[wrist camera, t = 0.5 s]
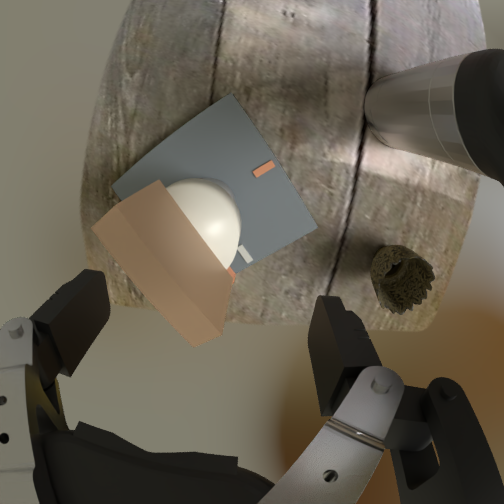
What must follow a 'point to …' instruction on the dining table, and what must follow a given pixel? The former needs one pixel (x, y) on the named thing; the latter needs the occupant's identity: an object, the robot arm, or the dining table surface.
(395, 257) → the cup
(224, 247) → the tan and white piece
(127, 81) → the dining table surface
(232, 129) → the base
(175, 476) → the robot arm
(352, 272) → the dining table surface
